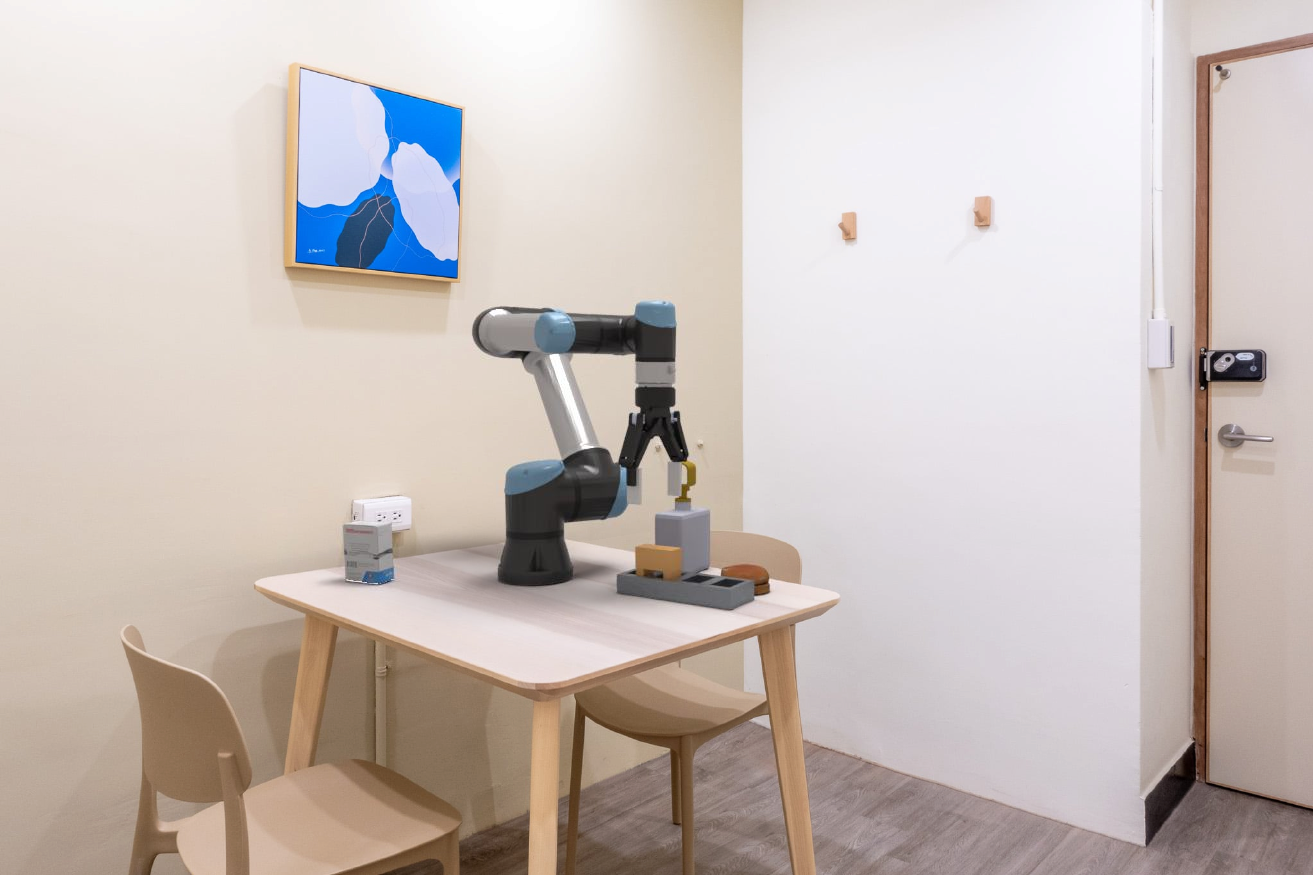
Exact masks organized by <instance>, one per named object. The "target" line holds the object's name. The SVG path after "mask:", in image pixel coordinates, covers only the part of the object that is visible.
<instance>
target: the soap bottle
mask: <svg viewBox="0 0 1313 875" xmlns="http://www.w3.org/2000/svg"><path fill="white" fill-rule="evenodd" d="M682 466H684V467H685V468H686V480H687V481H686V483H681V496H678V497H675V498H674V509H670V510H666V511H660V512H658V513H655V515H654V545H661V546H670V547H679V548H682V569H681V571H687V572H695V573H699V572H701V571H704V570H706V569H709V568H710V567H711V511H710V509H709V508H705V507H692V498H691V497H688V492H689V491H690V489H691V488H690V487H694V486H695V485H696V483H697V466H696V465H695V463H694V462H691V461H689V460H687V461H686V462H682Z"/></svg>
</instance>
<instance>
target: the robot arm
mask: <svg viewBox="0 0 1313 875" xmlns="http://www.w3.org/2000/svg"><path fill="white" fill-rule="evenodd" d="M676 317H677V316H676V306H675V305H674V303H673V302H671V301H666V300H665V301H664V300H646V301H640V302H637V303H636V305H635V309H634V314H629V315H627V314H626V315H618V314H602V313H601V314H599V313H598V314H597V313H578V312H577V313H575V312H566V311H564V310H561V309H557V308H551V307H542V308H535V307H524V306H523V307H519V306H493V307H490V308H488V309H485V310H484V311H481V312H480V313H479V314H478V315H477V316H476V318H475V319H474V321H473V324H472V327H471V336H472V340H473V342H474V344H475V345H476V346H477V348H478V349H479V350H480V351H481V352H483V353H484V354H487V355H488V356H490V357H491V356H492V357H494V358H501V359H516V360H517V359H519V360H520V361H521V363H522V366H523V368H524V370H525V372H527V373H528V374H530V375H532V376H533V378H534V381H535V383H536V386H537V389H538V393H539V395H540V398H541V402H542V404H543V407H544V410H545V413H546V416H547V420H548V422H549V425H550V428H551V431H552V434H553V437H554V440H555V443H556V446H557V448H558V452H559V455H560V458H561V459H555V458H554V459H544V460H540V459H539V460H534V461H533V460H531V461H528V462H523V463H519V464H516V465H512V466H511V467H509V468H508V469H507V471H506V473H505V481H504V482H505V483H504V502H505V505H504V506H505V509H504V510H505V543H504V546H503V550H502V553H501V556H500V561H499V564H498V565H497V580H498V581H499V582H502V583H504V584H509V585H517V586H541V585H542V586H543V585H544V586H545V585H552V584H558V583H563V582H566V581H569V580H571V579H572V578H574V564H573V562H572V561H571V557H570V553H569V549H568V547H567V543H566V540H565V524H567V523H579V522H589V521H599V520H600V521H605V520H607V519H612V518H617V517H620V516H621V515H622V514H624V512H625V511H626V510H627V508H628V506H629V505H638V506H640V505H642V502H643V500H642V499H643V498H642V496H643V495H642V494H643V489H642V487H643V486H642V485H643V484H642V483H643V482H642V481H643V480H642V479H643V478H642V477H643V474H642V472H643V469H642V468H641V467H640V464H641V462H642V461H643V460H642V459H643V458H644V456H645V453H646V451H647V449H648V447H649V444H650V443H651V441H652V440H653V439H654V438H655V437H658V438H659V439H660V441H661V443H662V446H663V447H664V449H665V452H666V454H667V456H668V458H669V459H670V461H667V496H670V497H671V496H672V497H679V496H681V484H682V476H683V475H682V474H683V472H682V471H683V470H682V469H683V467H682V466H683V465H682V462H686V461H688V458H689V456H690V453H689V449H688V445H687V442H686V437H685V434H684V430H683V426H682V423H681V412H680V410H671V408H674V407H675V406H676V404H677V403H676V402H677V401H676V398H677V397H676V392H677V390H676V388H675V387H674V386H673V385H674V384H676V372H677V368H676V356H677V355H676V354H677V353H676V352H677V350H676V349H677V320H676V319H677V318H676ZM575 354H576V355H577V354H579V355H581V354H588V355H589V354H590V355H612V356H621V357H622V356H628V355H634V357H635V358H634V360H635V361H634V384H637V386H636V387H635V388H634V405H635V406H636V407H637V408H640V409H639V412H630V413H629V415H628V426H627V427H626V428H627V429H626V432H625V436H624V439H623V442H622V447H621V450H620V454H619V457H618V461H616V462H614V459H613V458H612V455H611V452H610V450H609V449H608V448H607V447H604V446H602V445H600V443H599V441H598V438H597V435H596V432H595V428H594V426H593V424H592V423H593V422H592V420H591V418H590V415H589V413H588V412H589V411H588V410H587V409H588V408H587V407H586V404H585V401H584V398H583V396H582V393H581V390H580V387H579V385H578V382H577V379H576V376H575V374H574V371H573V369H572V365H571V361H572V359H573V356H574V355H575Z"/></svg>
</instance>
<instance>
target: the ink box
mask: <svg viewBox="0 0 1313 875" xmlns="http://www.w3.org/2000/svg"><path fill="white" fill-rule="evenodd" d="M342 533H343V551H344V552H343V554H344V573H345V575H344V576H345V580H346V579H348V580H353V581H362V582H367V583H378V584H380V583H383V584H386V583H387V582H386V581H389V582H391V581H392V580H391V579H394V580H395V572H394V571H395V570H394V551H393V549H394V546H393V525H392V522H390V521H389V522H386V521H385V522H384V521H365V520H356V521H352V522H346V523H344V524H343V525H342ZM390 580H391V581H390ZM385 582H386V583H385ZM380 585H381V584H380Z"/></svg>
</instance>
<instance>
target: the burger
mask: <svg viewBox="0 0 1313 875" xmlns="http://www.w3.org/2000/svg"><path fill="white" fill-rule="evenodd" d="M720 576H726V577H734V578H741V579H749V580H754V596H755V595H763V594H766V593H767V594H768V592H770V589H771V588H770V587H771V585H770V582H769V581H770V575H769V571H767V569H766V568H764V567H762V566H760V565H756V564H750V563H749V564H747V563H743V564H734V565H733V564H732V565H730V566H724V567H723V568H722V569H721V570H720Z"/></svg>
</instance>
